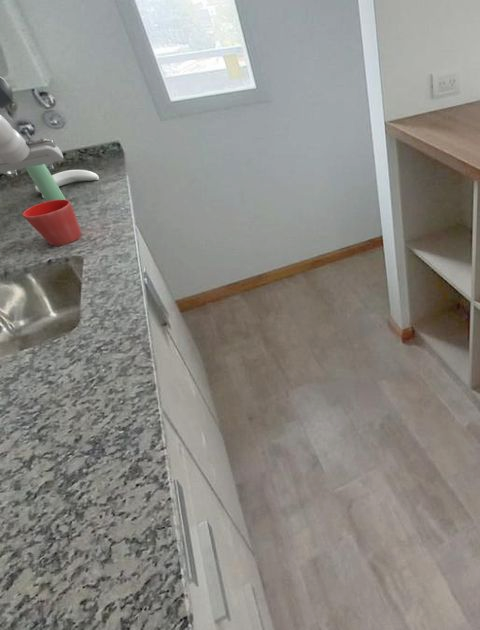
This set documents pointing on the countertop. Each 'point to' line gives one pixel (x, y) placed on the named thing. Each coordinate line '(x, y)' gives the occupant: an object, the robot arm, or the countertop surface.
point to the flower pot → (54, 221)
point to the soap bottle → (45, 183)
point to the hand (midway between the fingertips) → (33, 170)
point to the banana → (72, 177)
